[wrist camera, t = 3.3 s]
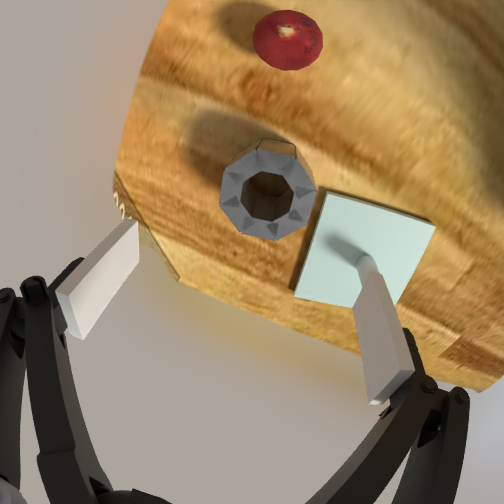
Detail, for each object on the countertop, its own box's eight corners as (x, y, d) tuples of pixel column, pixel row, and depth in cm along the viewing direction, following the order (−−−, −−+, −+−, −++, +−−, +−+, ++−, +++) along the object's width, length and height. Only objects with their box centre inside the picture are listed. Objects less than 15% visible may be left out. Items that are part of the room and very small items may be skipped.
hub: (240, 133, 27) (227, 143, 22) (317, 150, 27) (324, 164, 22) (228, 203, 31) (215, 227, 26) (299, 219, 31) (300, 246, 26)
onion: (301, 13, 20) (304, -14, 13) (329, 60, 22) (343, 48, 15) (247, 36, 22) (232, 15, 15) (275, 82, 24) (269, 77, 17)
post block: (326, 190, 29) (334, 215, 24) (432, 223, 29) (455, 251, 23) (294, 291, 37) (293, 327, 31) (387, 309, 36) (398, 344, 31)
